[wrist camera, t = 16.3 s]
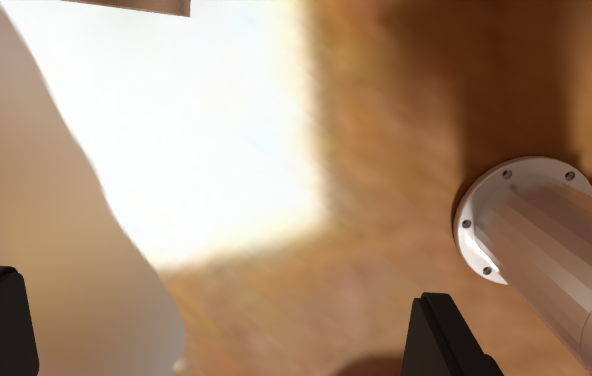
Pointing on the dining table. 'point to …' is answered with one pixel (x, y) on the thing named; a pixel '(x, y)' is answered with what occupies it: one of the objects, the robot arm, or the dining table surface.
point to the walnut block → (146, 5)
